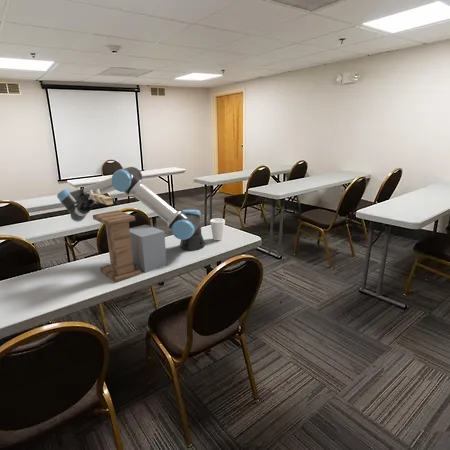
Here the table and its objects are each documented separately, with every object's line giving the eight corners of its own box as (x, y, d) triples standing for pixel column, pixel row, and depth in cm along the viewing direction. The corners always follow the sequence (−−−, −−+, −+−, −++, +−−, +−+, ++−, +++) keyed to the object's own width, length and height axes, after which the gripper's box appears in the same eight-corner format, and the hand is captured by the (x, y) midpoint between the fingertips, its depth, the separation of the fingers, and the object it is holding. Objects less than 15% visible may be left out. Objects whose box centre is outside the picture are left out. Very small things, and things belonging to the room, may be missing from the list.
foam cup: (217, 242, 201) (216, 223, 198) (207, 239, 208) (207, 220, 204) (228, 239, 207) (227, 220, 204) (219, 236, 214) (218, 217, 210)
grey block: (166, 265, 169) (164, 231, 164) (145, 272, 161) (141, 237, 155) (149, 256, 182) (146, 224, 176) (128, 262, 173) (124, 229, 168)
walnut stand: (140, 274, 159) (134, 216, 151) (116, 282, 151) (108, 222, 142) (124, 263, 172) (117, 210, 163) (100, 271, 163) (92, 215, 154)
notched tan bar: (113, 203, 153) (112, 197, 152) (107, 205, 151) (106, 198, 151) (93, 197, 170) (92, 191, 169) (87, 198, 168) (86, 192, 167)
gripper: (99, 211, 184) (112, 196, 167) (70, 216, 174) (81, 200, 156) (95, 199, 185) (108, 183, 168) (66, 204, 175) (77, 187, 157)
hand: (95, 191), depth 162 cm, fingers closed on notched tan bar, 3 cm apart
